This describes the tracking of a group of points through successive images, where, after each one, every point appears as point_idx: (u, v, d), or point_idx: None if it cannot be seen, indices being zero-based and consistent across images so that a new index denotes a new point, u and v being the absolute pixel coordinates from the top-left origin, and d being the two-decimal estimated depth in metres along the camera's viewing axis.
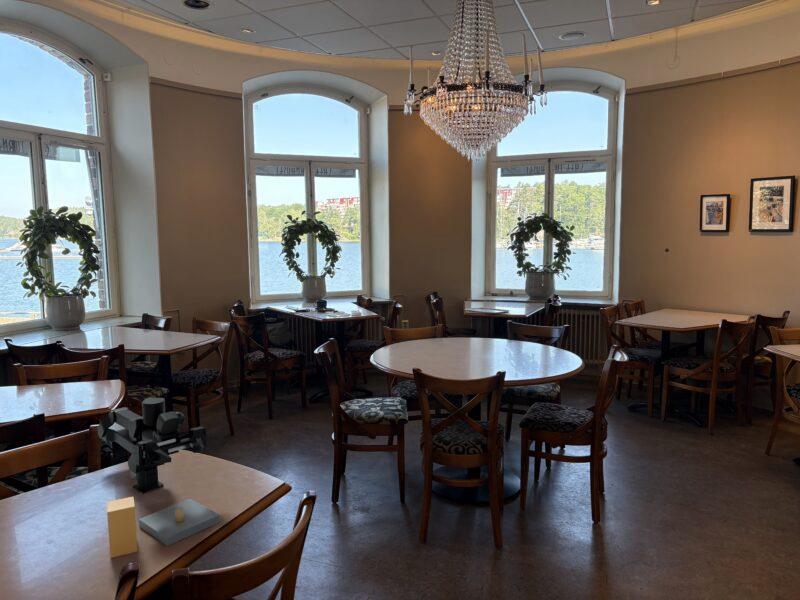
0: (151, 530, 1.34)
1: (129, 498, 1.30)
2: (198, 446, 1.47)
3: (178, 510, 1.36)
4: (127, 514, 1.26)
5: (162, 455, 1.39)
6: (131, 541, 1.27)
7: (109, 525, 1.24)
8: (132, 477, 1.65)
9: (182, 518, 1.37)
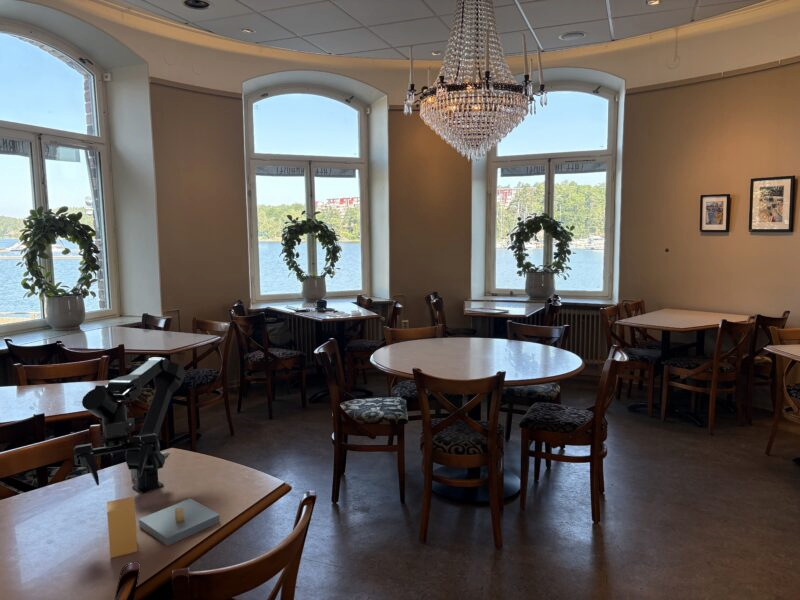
0: (151, 530, 1.34)
1: (129, 498, 1.30)
2: (139, 464, 1.38)
3: (178, 510, 1.36)
4: (127, 514, 1.26)
5: (93, 474, 1.32)
6: (131, 541, 1.27)
7: (109, 525, 1.24)
8: (132, 477, 1.65)
9: (182, 518, 1.37)
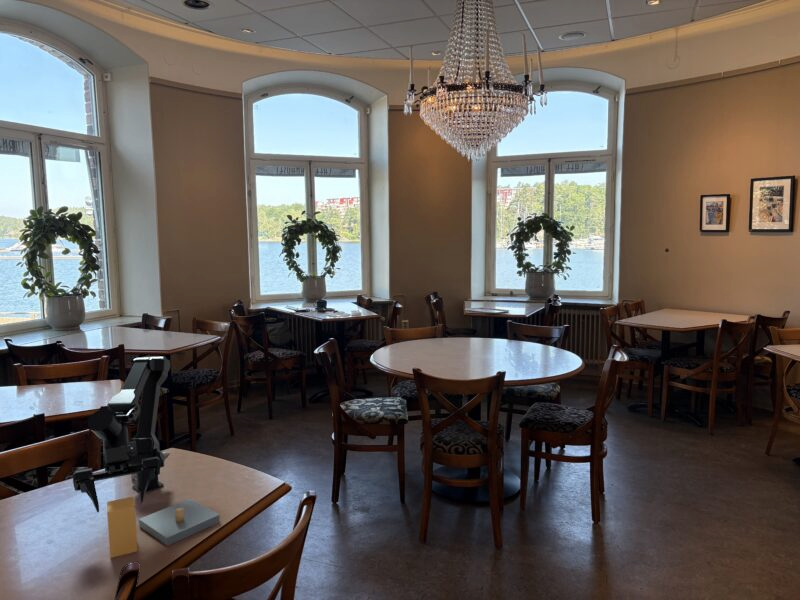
0: (151, 530, 1.34)
1: (129, 498, 1.30)
2: (140, 490, 1.33)
3: (178, 510, 1.36)
4: (127, 514, 1.26)
5: (93, 501, 1.28)
6: (131, 541, 1.27)
7: (109, 525, 1.24)
8: (132, 477, 1.65)
9: (182, 518, 1.37)
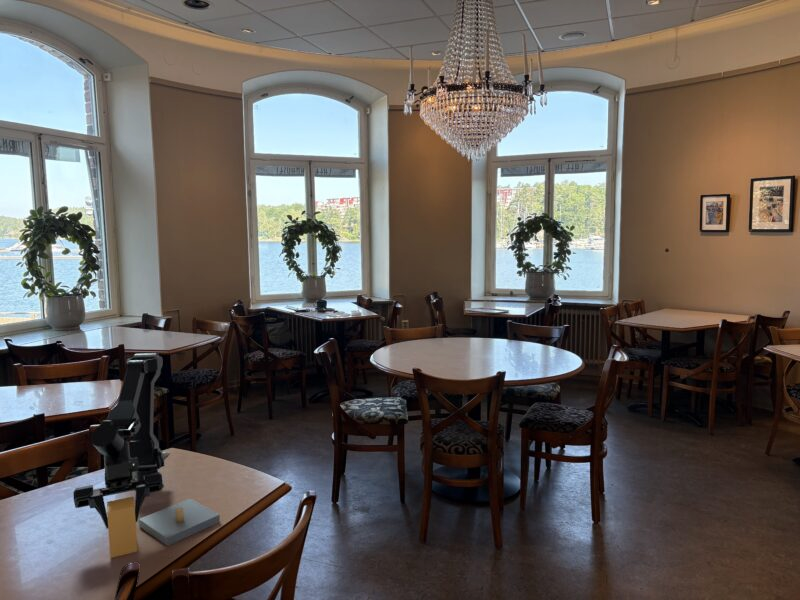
0: (151, 530, 1.34)
1: (129, 498, 1.30)
2: (135, 508, 1.30)
3: (178, 510, 1.36)
4: (127, 514, 1.26)
5: (102, 517, 1.26)
6: (131, 541, 1.27)
7: (109, 525, 1.24)
8: (132, 477, 1.65)
9: (182, 518, 1.37)
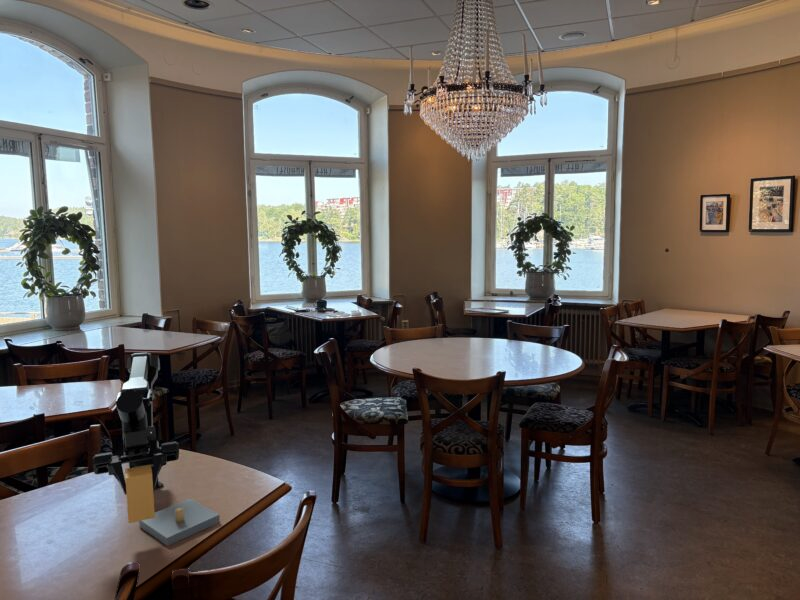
0: (151, 530, 1.34)
1: (147, 466, 1.32)
2: (152, 476, 1.32)
3: (178, 510, 1.36)
4: (145, 481, 1.28)
5: (120, 483, 1.28)
6: (149, 507, 1.29)
7: (127, 491, 1.26)
8: None
9: (182, 518, 1.37)
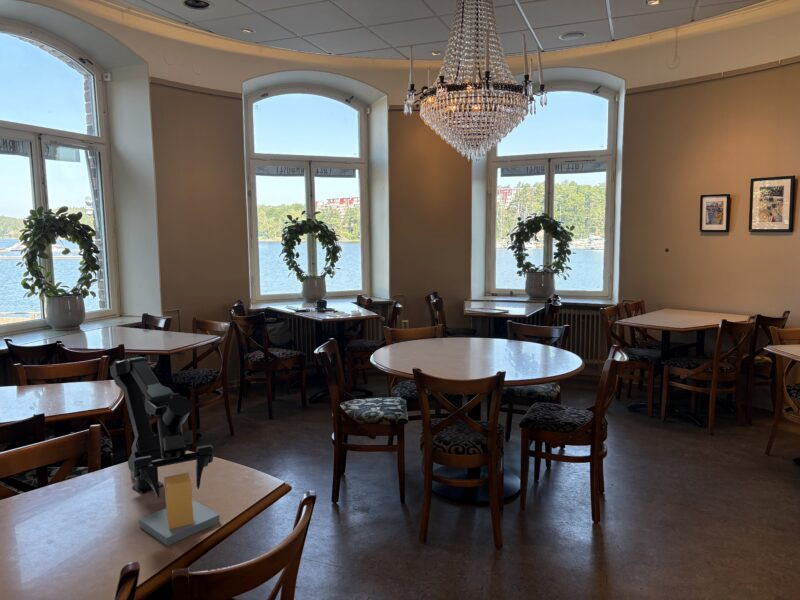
0: (151, 530, 1.34)
1: (185, 474, 1.38)
2: (196, 476, 1.39)
3: None
4: (184, 488, 1.34)
5: (153, 486, 1.33)
6: (188, 514, 1.35)
7: (168, 498, 1.33)
8: (131, 477, 1.65)
9: None
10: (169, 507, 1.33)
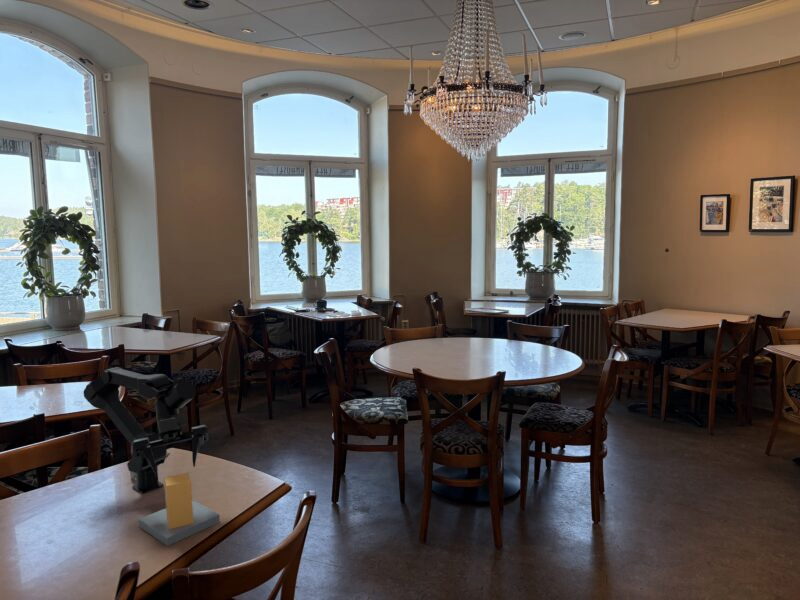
0: (151, 530, 1.34)
1: (185, 474, 1.38)
2: None
3: None
4: (184, 488, 1.34)
5: (151, 466, 1.42)
6: (188, 514, 1.35)
7: (168, 498, 1.33)
8: (131, 477, 1.65)
9: None
10: (169, 507, 1.33)
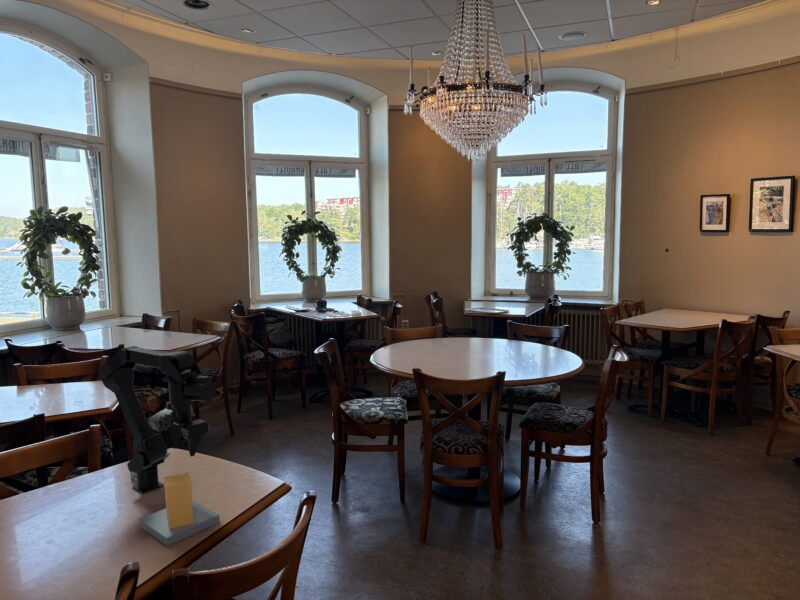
0: (151, 530, 1.34)
1: (185, 474, 1.38)
2: None
3: None
4: (184, 488, 1.34)
5: None
6: (188, 514, 1.35)
7: (168, 498, 1.33)
8: (131, 476, 1.65)
9: None
10: (169, 507, 1.33)
